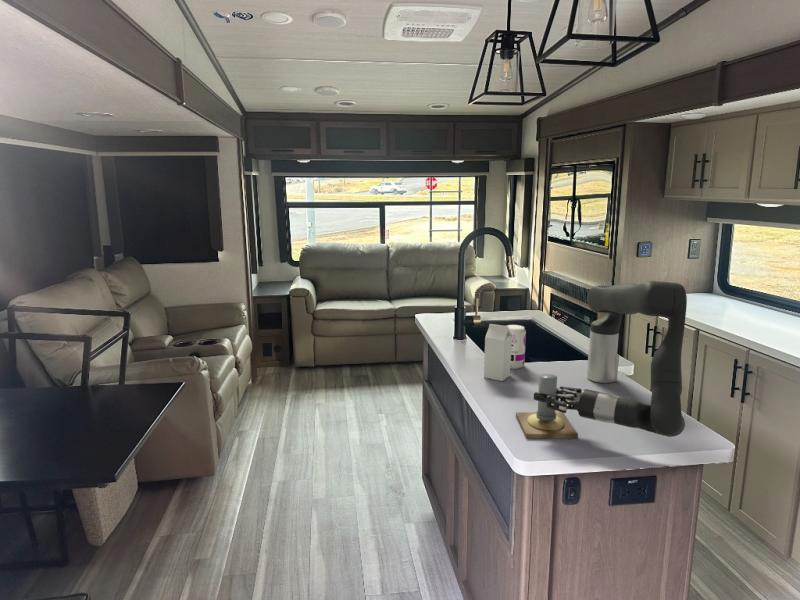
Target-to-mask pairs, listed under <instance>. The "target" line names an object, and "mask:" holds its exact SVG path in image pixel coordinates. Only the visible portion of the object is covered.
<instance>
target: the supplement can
mask: <svg viewBox="0 0 800 600" xmlns="http://www.w3.org/2000/svg"><path fill="white" fill-rule="evenodd" d="M506 326H509V331H510V333H511V335H512V342H511V366H510V369H513V370H515V369H516V370H517V369H521V368H523V367H524V366H525V360H526V359H525V357H526V356H525V355H526V341H527V340H526V338H527V331H526V329H525V326H523V325H520V324H507V325H506Z"/></svg>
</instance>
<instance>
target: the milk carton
mask: <svg viewBox="0 0 800 600" xmlns="http://www.w3.org/2000/svg"><path fill="white" fill-rule="evenodd" d="M488 325H489V326H488V329H487V332H486V335H485V337H484V358H483V359H484V365H483V366H484V367H483V378H484V379H489V378H490V379H489V380H493V381H494V380H495V381H498V382H499V381H500V382H504V381H505V380H506V379H507V378H508V377H510V375H511V368H510V366H511V342H512V335H511V333H510V331H509V326H507V325H501V324H495V323H494V324H493V323H489V324H488Z"/></svg>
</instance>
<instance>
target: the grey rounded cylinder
mask: <svg viewBox="0 0 800 600" xmlns="http://www.w3.org/2000/svg"><path fill="white" fill-rule="evenodd" d="M557 385H558V375H555V374H553V373H541V374H539V376H538V392H539V393H543V394H548V395H556V390H557V388H558V386H557ZM553 399H554V398H553ZM546 405H547V403H545V402H541V401H537V411H536V412H537V413H536V417H537V418H538V419H540V420H543V421H553V420H555V419H556V413H555V412H556V410H554V409H551V408H548V407H546ZM553 406H554V405H553Z"/></svg>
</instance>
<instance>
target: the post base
mask: <svg viewBox="0 0 800 600" xmlns="http://www.w3.org/2000/svg"><path fill="white" fill-rule="evenodd" d="M536 413H537V411H536V412H533V411H532V412H530V411H529V412H527V411H526V412H525V411H523V412H522V411H521V412H520V411H519V412H518V411H517V412H515V418H516V420H517V422H518V424H519V427H520V428H521V429H520V430H522V433H523V435H524V437H525V438H526V439H579V433H578V432H577V431H576V429H575V428H574V426H573V425H572V423H571V422H570V420H569V419H568V417H567V415H566V413H562V412H559V411H555V413H556V419H555V420H553V421H543V420H540V419H538V418H537V417H536Z"/></svg>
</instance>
